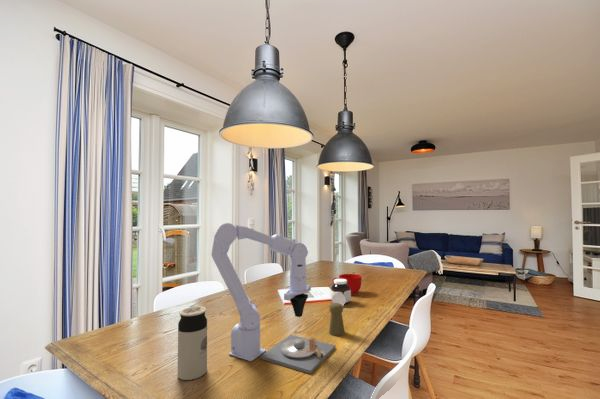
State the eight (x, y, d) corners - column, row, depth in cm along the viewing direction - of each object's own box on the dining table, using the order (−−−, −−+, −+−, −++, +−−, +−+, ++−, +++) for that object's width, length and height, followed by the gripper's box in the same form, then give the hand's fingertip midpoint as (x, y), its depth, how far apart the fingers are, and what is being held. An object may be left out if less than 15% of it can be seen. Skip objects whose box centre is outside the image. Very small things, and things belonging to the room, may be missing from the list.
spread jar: (346, 299, 151) (345, 277, 152) (356, 306, 140) (356, 282, 141) (325, 302, 147) (325, 279, 148) (334, 308, 136) (334, 284, 137)
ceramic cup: (332, 290, 170) (332, 273, 171) (361, 290, 168) (360, 274, 169) (332, 296, 158) (331, 278, 158) (362, 297, 155) (362, 278, 156)
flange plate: (292, 338, 101) (292, 326, 101) (331, 347, 93) (331, 334, 94) (274, 353, 90) (273, 339, 90) (316, 364, 83) (315, 349, 83)
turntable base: (260, 359, 89) (260, 346, 89) (290, 337, 105) (290, 327, 105) (310, 374, 80) (310, 360, 80) (335, 348, 96) (335, 336, 96)
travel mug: (171, 378, 79) (172, 313, 80) (191, 364, 87) (191, 304, 88) (193, 383, 76) (194, 316, 77) (212, 368, 84) (212, 307, 85)
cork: (334, 328, 112) (333, 300, 113) (347, 332, 109) (346, 303, 109) (325, 333, 108) (325, 304, 108) (339, 337, 104) (338, 307, 105)
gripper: (296, 282, 90) (296, 325, 89) (317, 273, 102) (318, 311, 102) (278, 279, 94) (279, 321, 93) (301, 272, 106) (302, 308, 105)
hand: (298, 316), depth 98 cm, fingers closed
